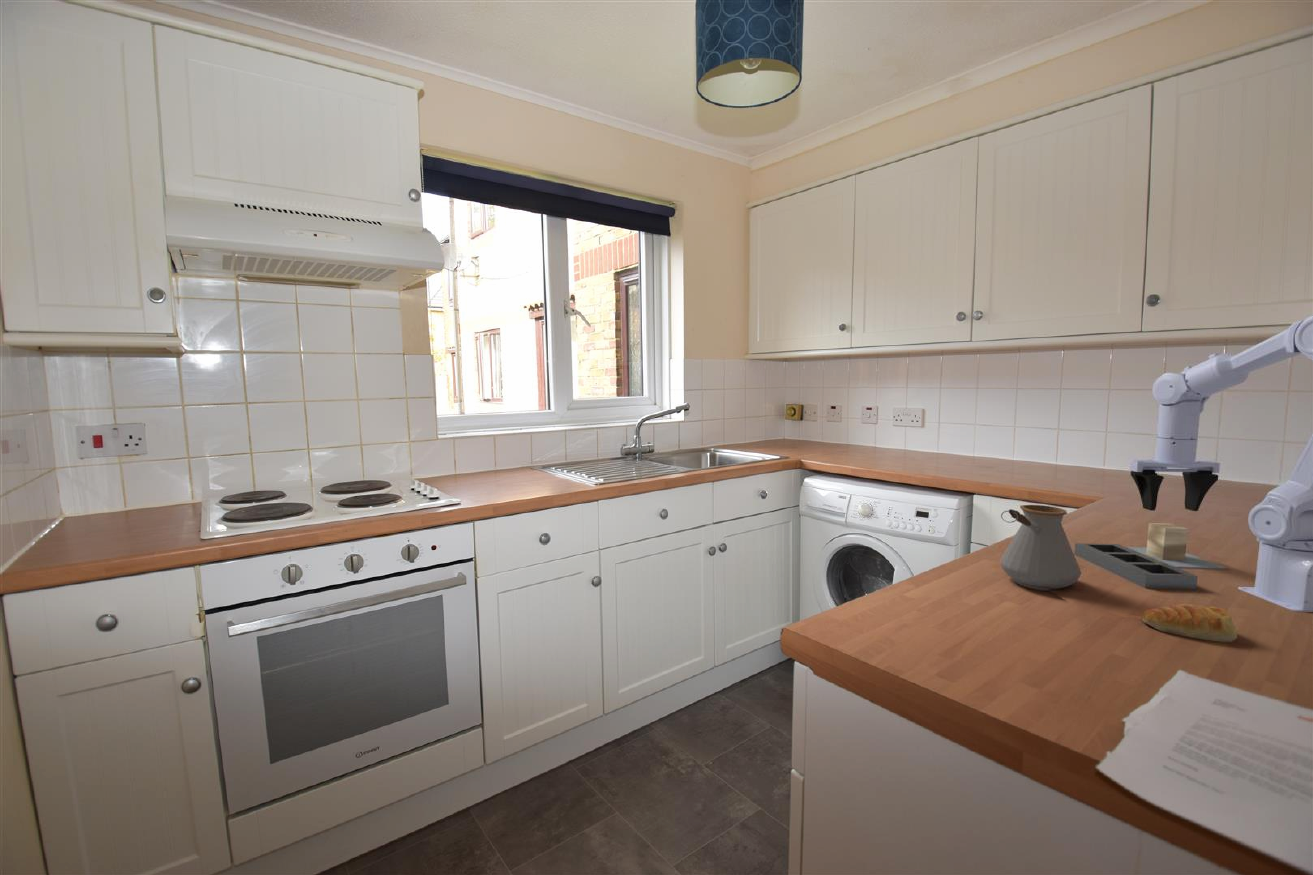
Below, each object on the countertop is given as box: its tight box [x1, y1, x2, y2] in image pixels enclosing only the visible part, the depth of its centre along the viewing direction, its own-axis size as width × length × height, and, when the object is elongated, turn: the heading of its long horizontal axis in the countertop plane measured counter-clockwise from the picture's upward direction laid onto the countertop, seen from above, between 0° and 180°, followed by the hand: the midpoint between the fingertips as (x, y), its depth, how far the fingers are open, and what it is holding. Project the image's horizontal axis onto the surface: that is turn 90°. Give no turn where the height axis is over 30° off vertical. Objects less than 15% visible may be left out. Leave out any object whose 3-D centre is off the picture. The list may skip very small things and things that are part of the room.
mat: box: [1126, 546, 1228, 570], centre depth 112 cm, size 12×12×1 cm
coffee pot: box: [999, 504, 1082, 592], centre depth 96 cm, size 21×12×15 cm, turn 130°
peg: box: [1146, 522, 1189, 560], centre depth 112 cm, size 4×4×6 cm
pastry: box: [1141, 603, 1238, 643], centre depth 81 cm, size 9×7×4 cm
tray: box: [1073, 542, 1198, 590], centre depth 105 cm, size 18×8×3 cm, turn 176°
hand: (1170, 509), depth 111 cm, fingers open, 7 cm apart
